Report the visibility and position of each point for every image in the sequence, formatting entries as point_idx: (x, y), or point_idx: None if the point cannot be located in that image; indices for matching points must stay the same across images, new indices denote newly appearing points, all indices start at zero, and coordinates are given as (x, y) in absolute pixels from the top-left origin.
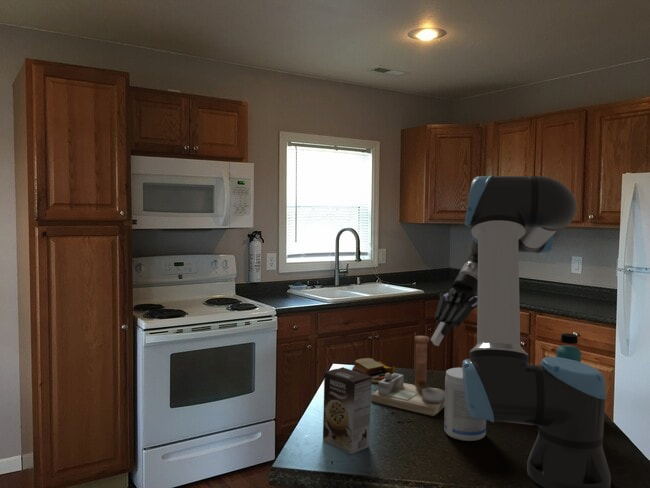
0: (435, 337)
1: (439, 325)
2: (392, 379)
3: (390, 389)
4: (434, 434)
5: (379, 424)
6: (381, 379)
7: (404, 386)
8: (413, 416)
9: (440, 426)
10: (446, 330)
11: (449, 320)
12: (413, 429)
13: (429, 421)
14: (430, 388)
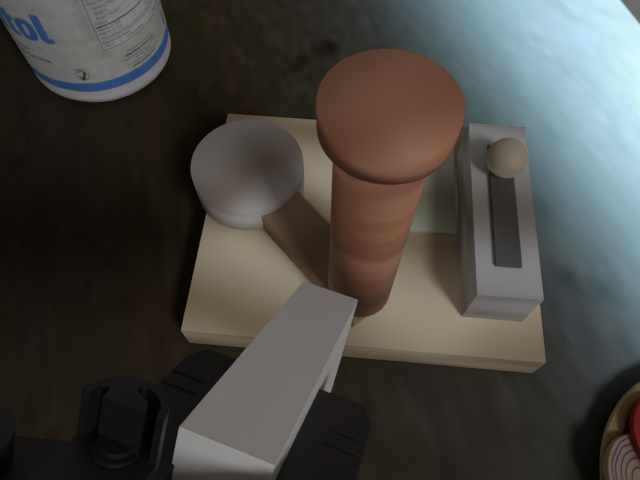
0: (303, 301)
1: (282, 406)
2: (488, 192)
3: (461, 166)
4: (198, 19)
5: (377, 9)
6: (638, 400)
7: (447, 300)
8: (301, 102)
9: (191, 72)
10: (165, 383)
11: (68, 457)
12: (268, 22)
13: (236, 90)
14: (273, 196)
